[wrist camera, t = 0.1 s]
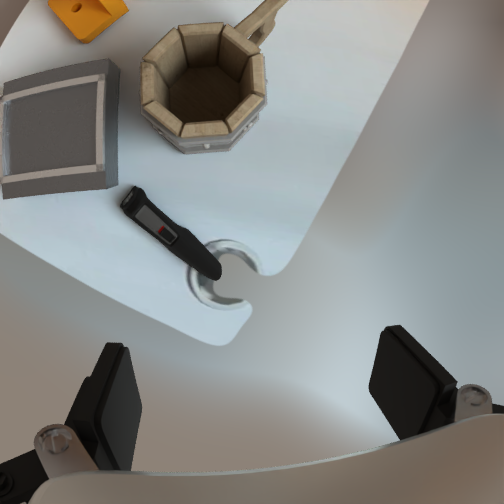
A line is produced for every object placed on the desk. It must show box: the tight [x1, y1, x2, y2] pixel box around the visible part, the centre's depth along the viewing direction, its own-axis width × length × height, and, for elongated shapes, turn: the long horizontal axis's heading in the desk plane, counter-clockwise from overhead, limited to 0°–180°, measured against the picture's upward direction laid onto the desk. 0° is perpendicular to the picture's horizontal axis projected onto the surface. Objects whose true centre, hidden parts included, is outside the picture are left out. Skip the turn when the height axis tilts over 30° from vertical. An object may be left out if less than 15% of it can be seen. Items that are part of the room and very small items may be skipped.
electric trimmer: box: [120, 186, 222, 281], centre depth 39 cm, size 4×16×3 cm, turn 46°
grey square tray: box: [0, 59, 120, 199], centre depth 32 cm, size 15×15×6 cm
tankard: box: [139, 0, 288, 154], centre depth 29 cm, size 20×13×15 cm, turn 138°
